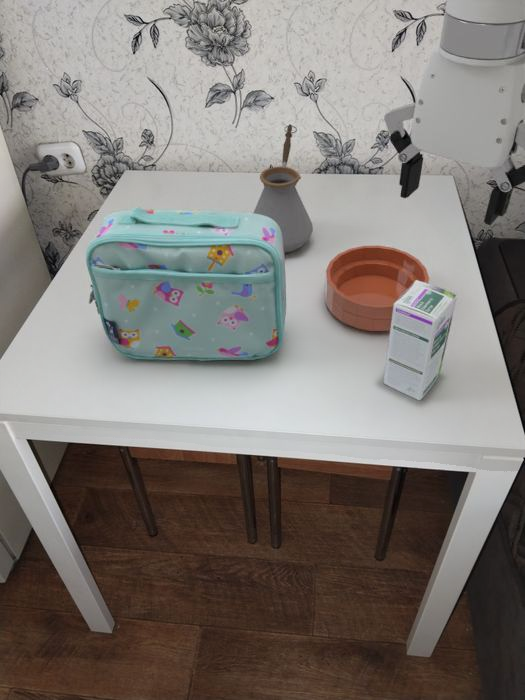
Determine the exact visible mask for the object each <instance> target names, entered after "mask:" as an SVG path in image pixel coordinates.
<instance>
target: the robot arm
mask: <svg viewBox="0 0 525 700" xmlns="http://www.w3.org/2000/svg"><path fill="white" fill-rule="evenodd" d="M431 49H432V50H431V52H430V54H429V58H428V60H427V63H426V65H425V69H424V72H423V75H422V77H421V78H422V79H421V82H420V85H419V90H418V94H417V97H416V101H415V102H412V103H409V104H406V105H403V106H399V107H396V108H393V109H391V110H390V111H388V112H387V113H385V115H384V122H385V125H386V128H387V131H388V133H389V135H390V136H389V141H390V143H391V144H392V146H393V147H394V149H395V151H396V152H397V154H398V155H397V159H398V161H399V162H400V163H401V169H400V175H399V181H398V183H399V186H401V189H400V194H399V195H400V198H402V199H408V198H409V197H410V196H411V195H413V193H415V191H417V190H418V189H419V187H420V181H421V175H422V170H423V164H424V155H423V153H427V154H430V155H433V156H436V157H440V158H444V159H448V160H452V161H455V162H459V163H463V164H467V165H470V166H473V167H478V168H482V169H487V170H489V171H490V173H491V175H492V177H493V179H494V181H495V183H496V185H495V187H494V188H493V189H492V190H491V192H490V196H489V199H488V203H487V208H486V212H485V216H484V219H483V222H484V224H485V225H486V226H487V225H488V226H491V225H492V224H493V223H495V221H496V220H497V218H498V217H503V216H505V214H506V212H507V211H508V208H509V205H510V202H511V198H512V194H513V190H514V188H516V187H517V186H519V185H521V184H524V183H525V164H523V165H521V166H520V167H519V166H518V165H517V163H516V161H515V157H514V156H513V154H516V153H517V152H518V150H519V148H520V147H521V148H522V149H523V150H524V151H525V0H446V3H445V9H444V15H443V20H442V27H441V33H440V39H439V41H438V42H437V43H435V44H434V45H433V47H432V48H431ZM408 120H412V122H411V130H410V134H409V132H408V131H407V130H406V129H405V128H404V126H405V125H404V121H408ZM421 152H423V153H421Z"/></svg>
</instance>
